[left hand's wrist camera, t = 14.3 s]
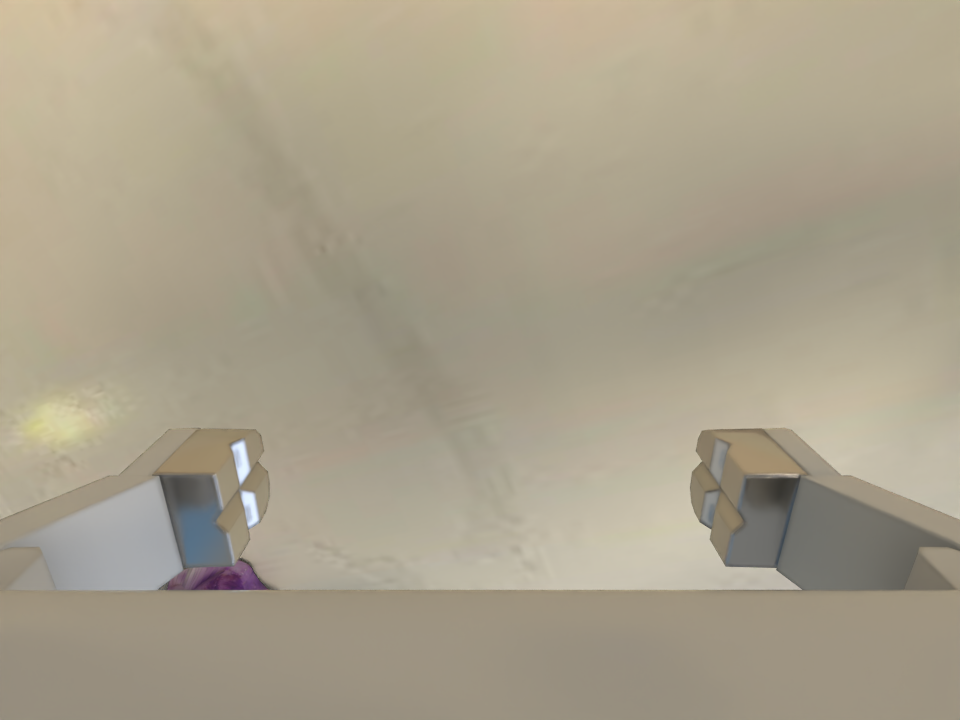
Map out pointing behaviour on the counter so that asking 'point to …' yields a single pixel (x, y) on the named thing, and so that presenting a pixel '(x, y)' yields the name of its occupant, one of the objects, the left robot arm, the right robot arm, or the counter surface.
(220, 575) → the figurine
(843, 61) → the counter surface
